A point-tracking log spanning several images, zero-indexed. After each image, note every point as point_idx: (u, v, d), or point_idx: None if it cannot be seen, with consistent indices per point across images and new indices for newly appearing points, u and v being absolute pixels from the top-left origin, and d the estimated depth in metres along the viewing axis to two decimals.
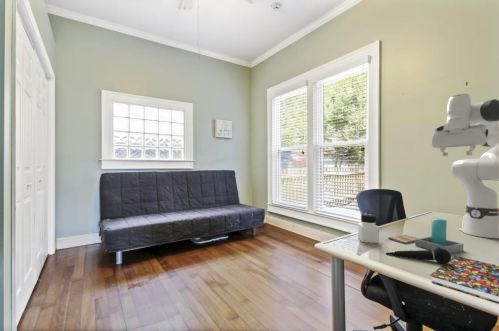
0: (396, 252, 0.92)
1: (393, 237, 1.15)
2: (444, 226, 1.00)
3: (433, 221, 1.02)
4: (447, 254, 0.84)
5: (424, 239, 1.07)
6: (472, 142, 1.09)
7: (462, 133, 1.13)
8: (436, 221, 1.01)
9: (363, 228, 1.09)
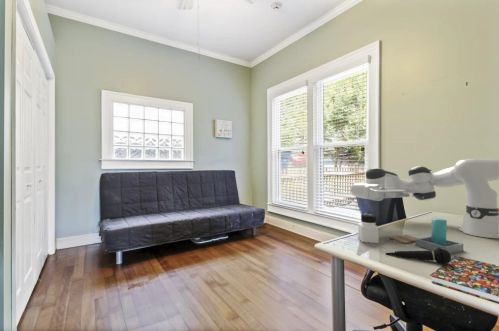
0: (396, 252, 0.92)
1: (393, 237, 1.15)
2: (444, 226, 1.00)
3: (433, 221, 1.02)
4: (447, 254, 0.84)
5: (424, 239, 1.07)
6: (400, 190, 1.25)
7: (386, 189, 1.27)
8: (436, 221, 1.01)
9: (363, 228, 1.09)
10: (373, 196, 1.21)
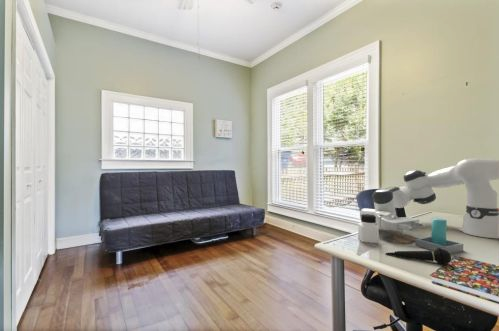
0: (396, 252, 0.92)
1: (393, 237, 1.15)
2: (444, 226, 1.00)
3: (433, 221, 1.02)
4: (447, 255, 0.84)
5: (424, 239, 1.07)
6: (414, 219, 1.18)
7: (399, 218, 1.20)
8: (436, 221, 1.01)
9: (363, 228, 1.09)
10: (385, 227, 1.13)
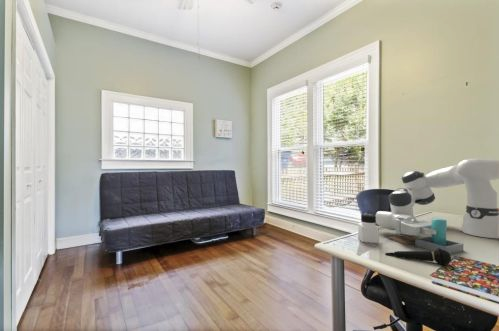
0: (395, 252, 0.92)
1: (393, 237, 1.15)
2: (444, 226, 1.00)
3: (433, 221, 1.02)
4: (447, 255, 0.83)
5: (424, 239, 1.07)
6: None
7: (419, 222, 1.12)
8: (436, 221, 1.01)
9: (363, 228, 1.09)
10: (406, 231, 1.05)
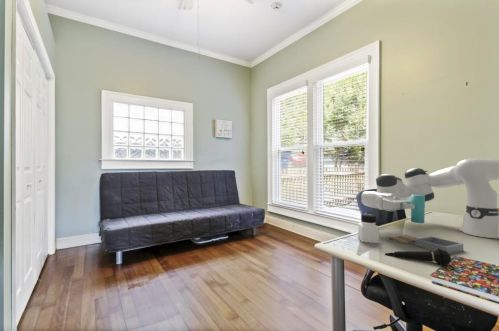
0: (395, 252, 0.92)
1: (393, 237, 1.15)
2: (422, 201, 1.06)
3: (412, 196, 1.09)
4: (447, 255, 0.83)
5: (424, 239, 1.07)
6: None
7: (401, 199, 1.18)
8: (415, 196, 1.07)
9: (363, 228, 1.09)
10: (387, 207, 1.11)
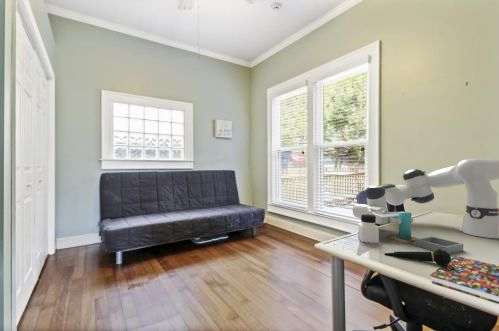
0: (395, 253, 0.92)
1: (393, 237, 1.15)
2: (409, 218, 1.11)
3: (400, 214, 1.13)
4: (446, 256, 0.83)
5: (424, 239, 1.07)
6: None
7: (390, 213, 1.23)
8: (402, 214, 1.12)
9: (363, 228, 1.09)
10: (376, 221, 1.16)
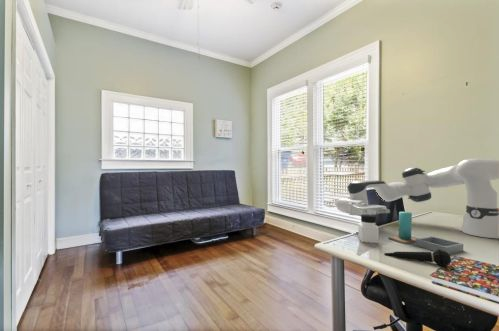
0: (395, 253, 0.91)
1: (393, 237, 1.15)
2: (409, 218, 1.11)
3: (400, 214, 1.13)
4: (446, 256, 0.82)
5: (424, 239, 1.07)
6: (381, 206, 1.32)
7: (369, 205, 1.35)
8: (402, 214, 1.12)
9: (363, 228, 1.09)
10: (355, 212, 1.28)
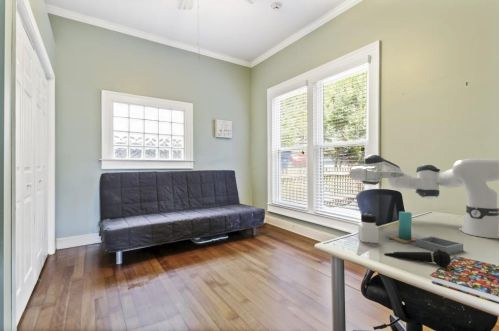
0: (394, 253, 0.91)
1: (393, 237, 1.15)
2: (409, 218, 1.11)
3: (400, 214, 1.13)
4: (446, 256, 0.82)
5: (424, 239, 1.07)
6: (395, 171, 1.34)
7: None
8: (402, 213, 1.12)
9: (363, 228, 1.09)
10: (370, 176, 1.30)
